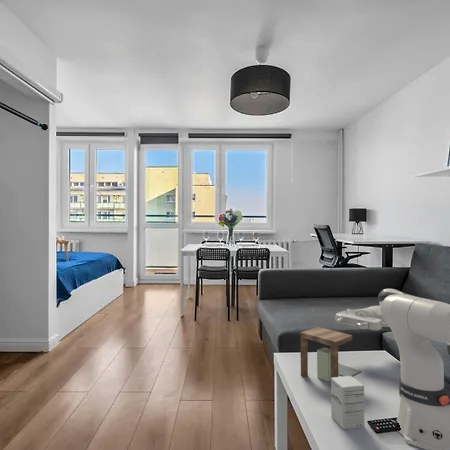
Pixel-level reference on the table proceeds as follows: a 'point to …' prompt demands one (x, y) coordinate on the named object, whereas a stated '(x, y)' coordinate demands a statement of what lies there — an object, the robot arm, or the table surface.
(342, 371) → the slate mat
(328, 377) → the sage block
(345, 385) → the supplement box
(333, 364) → the shelf stand
